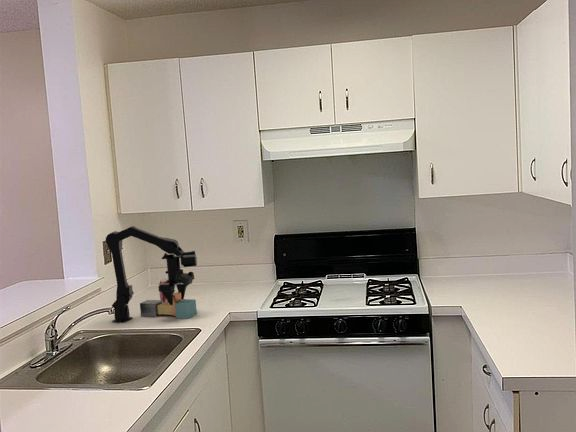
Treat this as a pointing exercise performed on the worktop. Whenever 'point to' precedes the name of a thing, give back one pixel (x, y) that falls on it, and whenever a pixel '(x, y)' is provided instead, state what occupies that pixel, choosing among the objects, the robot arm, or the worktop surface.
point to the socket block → (185, 308)
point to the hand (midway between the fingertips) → (177, 302)
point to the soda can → (162, 293)
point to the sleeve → (149, 308)
